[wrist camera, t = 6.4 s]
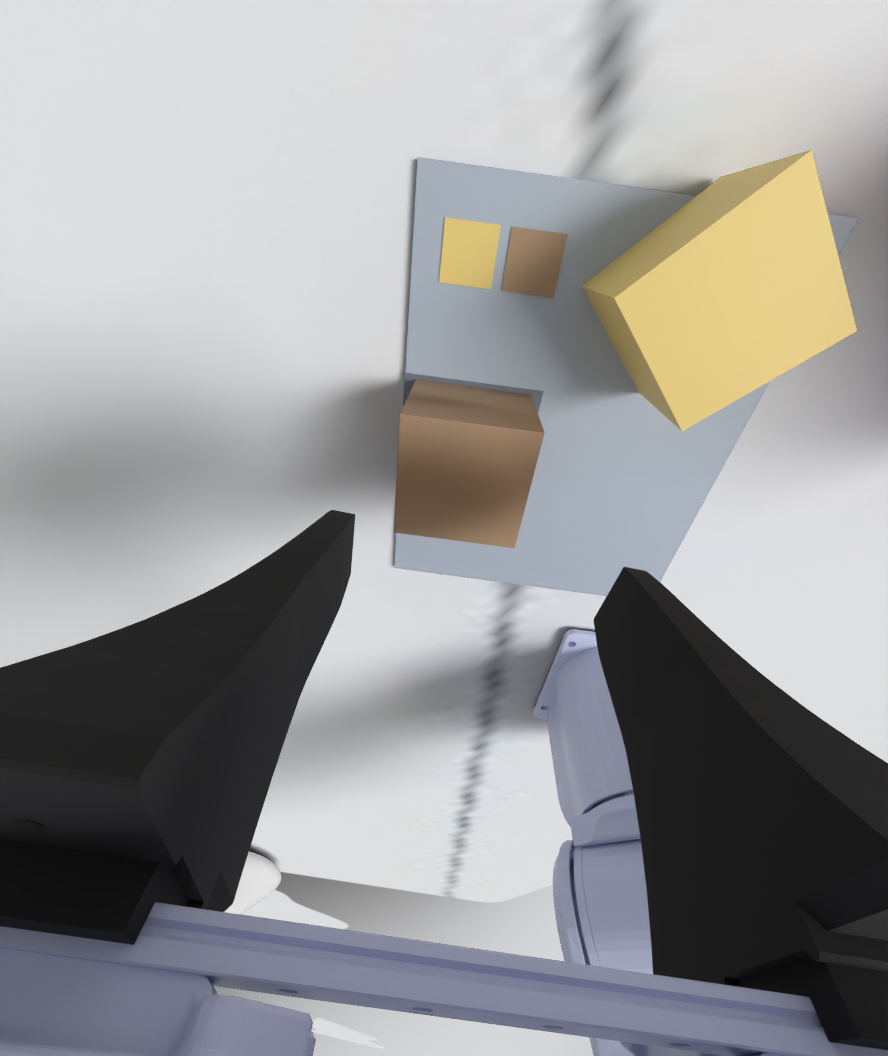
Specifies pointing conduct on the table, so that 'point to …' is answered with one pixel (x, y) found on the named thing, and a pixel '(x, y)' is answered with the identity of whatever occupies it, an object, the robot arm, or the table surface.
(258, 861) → the flower in vase
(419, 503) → the walnut block
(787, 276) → the mustard block
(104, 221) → the table surface
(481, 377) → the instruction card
